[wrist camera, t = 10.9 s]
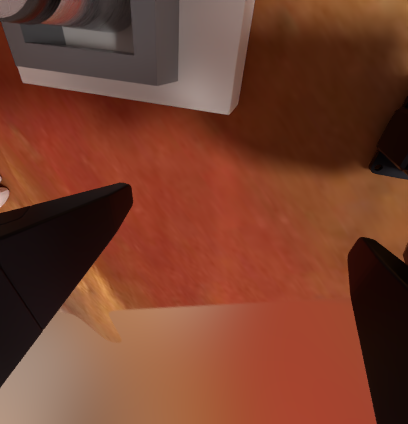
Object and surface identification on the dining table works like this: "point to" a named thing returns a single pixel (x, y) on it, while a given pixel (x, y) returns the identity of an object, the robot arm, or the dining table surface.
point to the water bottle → (3, 194)
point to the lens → (69, 13)
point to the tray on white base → (145, 54)
